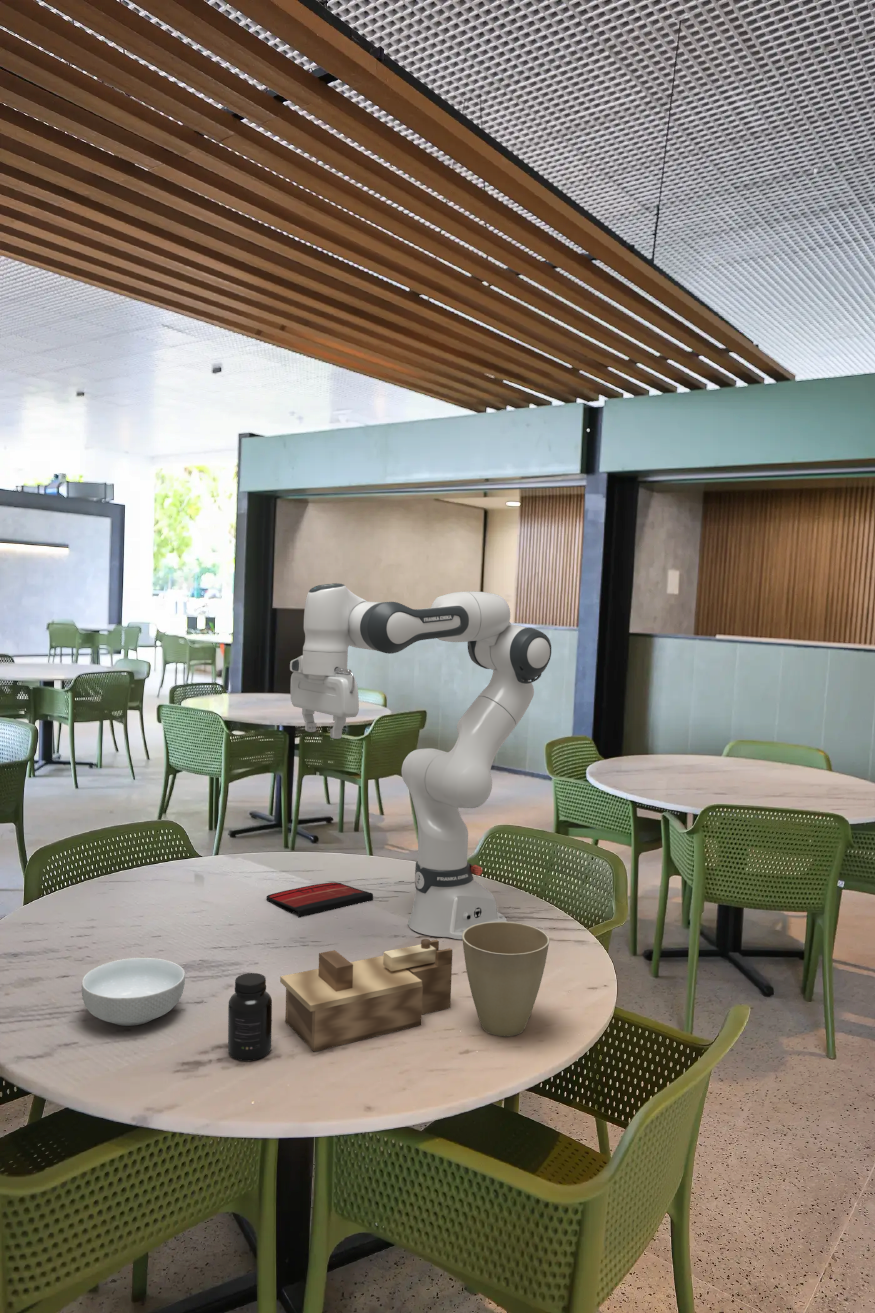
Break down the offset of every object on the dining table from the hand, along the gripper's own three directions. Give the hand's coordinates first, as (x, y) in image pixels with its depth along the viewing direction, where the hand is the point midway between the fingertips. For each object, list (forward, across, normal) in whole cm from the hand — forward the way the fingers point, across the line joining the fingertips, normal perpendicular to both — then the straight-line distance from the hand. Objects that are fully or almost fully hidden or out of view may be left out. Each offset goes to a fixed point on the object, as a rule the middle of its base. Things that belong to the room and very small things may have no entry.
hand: (322, 734), depth 184 cm
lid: (+39, -28, +11) cm, 50 cm away
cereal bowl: (+46, -5, +39) cm, 60 cm away
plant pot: (+45, -44, -10) cm, 64 cm away
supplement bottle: (+46, -27, +29) cm, 60 cm away
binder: (+46, +29, -18) cm, 58 cm away
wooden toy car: (+37, -30, -1) cm, 47 cm away
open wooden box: (+45, -29, +6) cm, 54 cm away
